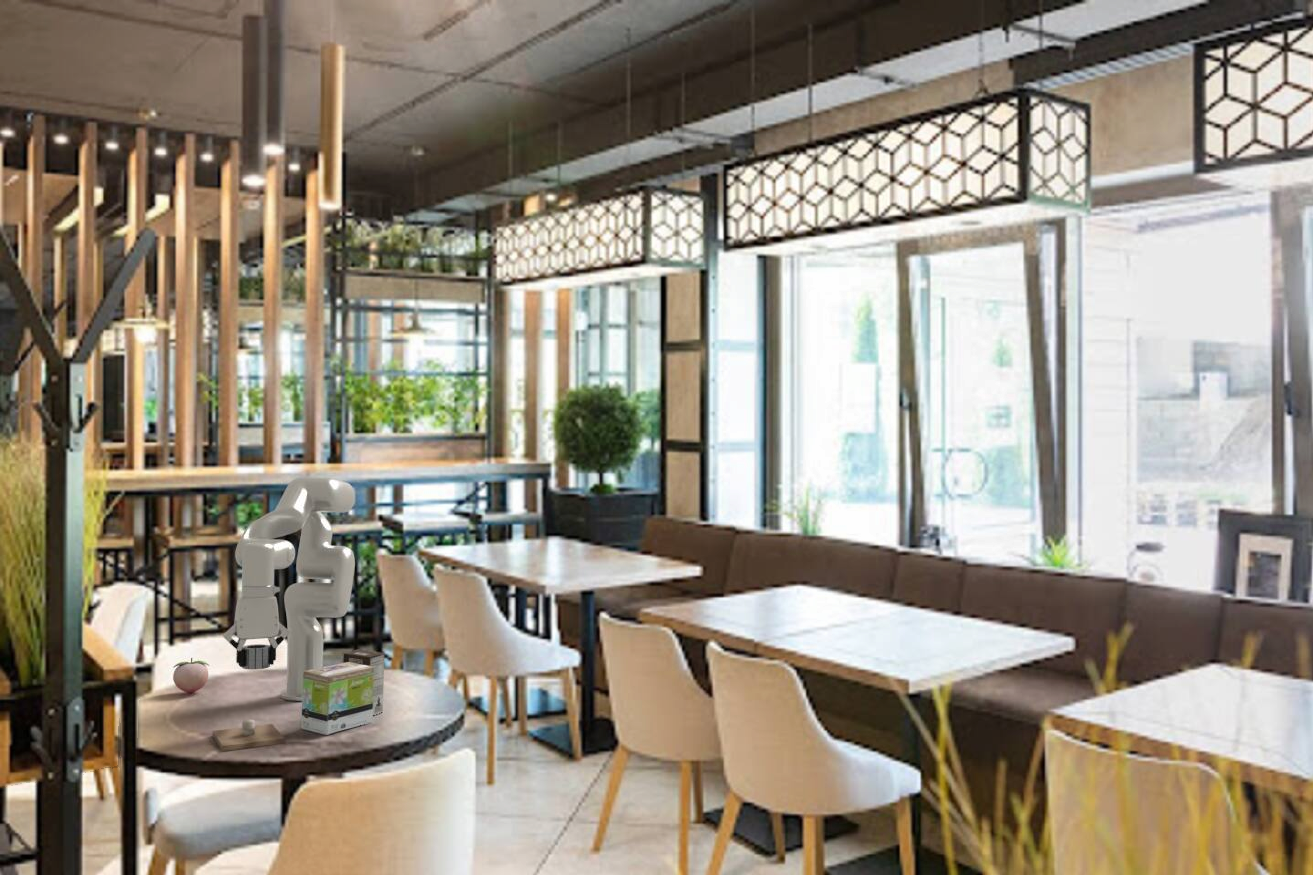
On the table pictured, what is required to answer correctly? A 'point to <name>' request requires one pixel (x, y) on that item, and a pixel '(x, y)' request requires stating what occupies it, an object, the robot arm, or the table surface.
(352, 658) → the coffee box
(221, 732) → the shaft base
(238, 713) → the table surface
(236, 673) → the table surface
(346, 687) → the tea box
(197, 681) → the decorative fruit
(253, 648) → the grey hollow cylinder
